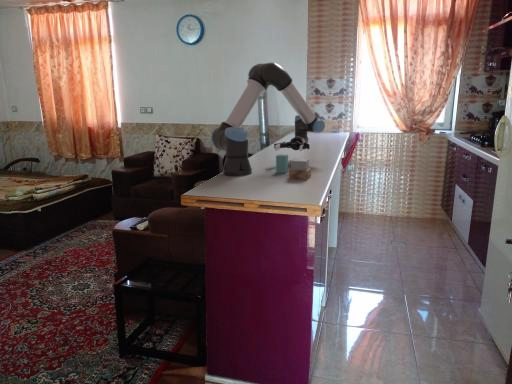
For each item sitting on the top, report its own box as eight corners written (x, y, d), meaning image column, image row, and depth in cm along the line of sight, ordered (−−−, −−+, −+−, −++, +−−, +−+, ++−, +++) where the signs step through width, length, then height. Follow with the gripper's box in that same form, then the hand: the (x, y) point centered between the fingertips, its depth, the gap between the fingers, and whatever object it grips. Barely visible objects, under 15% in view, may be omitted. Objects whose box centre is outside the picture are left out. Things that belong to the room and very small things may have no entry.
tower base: (289, 179, 193) (289, 170, 192) (293, 175, 202) (293, 167, 200) (307, 180, 190) (307, 171, 189) (311, 176, 199) (311, 167, 198)
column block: (276, 172, 208) (276, 155, 205) (278, 171, 212) (278, 154, 210) (285, 173, 206) (285, 156, 204) (287, 171, 211) (288, 154, 208)
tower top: (290, 170, 193) (290, 160, 192) (293, 167, 200) (293, 158, 199) (306, 170, 191) (306, 161, 190) (308, 167, 198) (308, 158, 197)
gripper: (318, 149, 232) (310, 155, 213) (277, 149, 240) (266, 154, 221) (318, 137, 230) (310, 141, 211) (276, 136, 238) (265, 141, 219)
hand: (288, 148), depth 216 cm, fingers open, 13 cm apart
